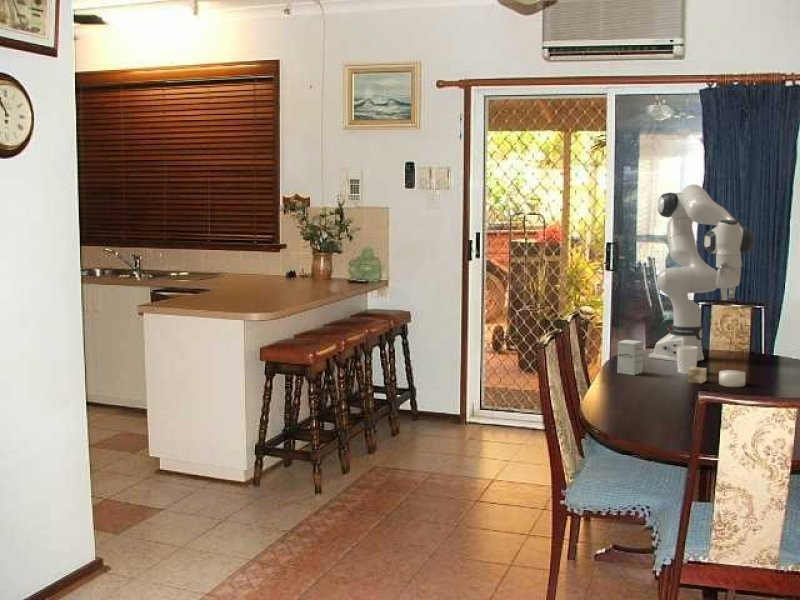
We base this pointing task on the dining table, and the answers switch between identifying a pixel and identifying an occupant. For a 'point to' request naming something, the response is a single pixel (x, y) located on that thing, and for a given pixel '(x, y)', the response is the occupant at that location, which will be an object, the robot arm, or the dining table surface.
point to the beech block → (697, 375)
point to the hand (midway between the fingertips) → (728, 299)
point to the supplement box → (630, 357)
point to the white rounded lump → (732, 378)
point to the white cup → (686, 358)
